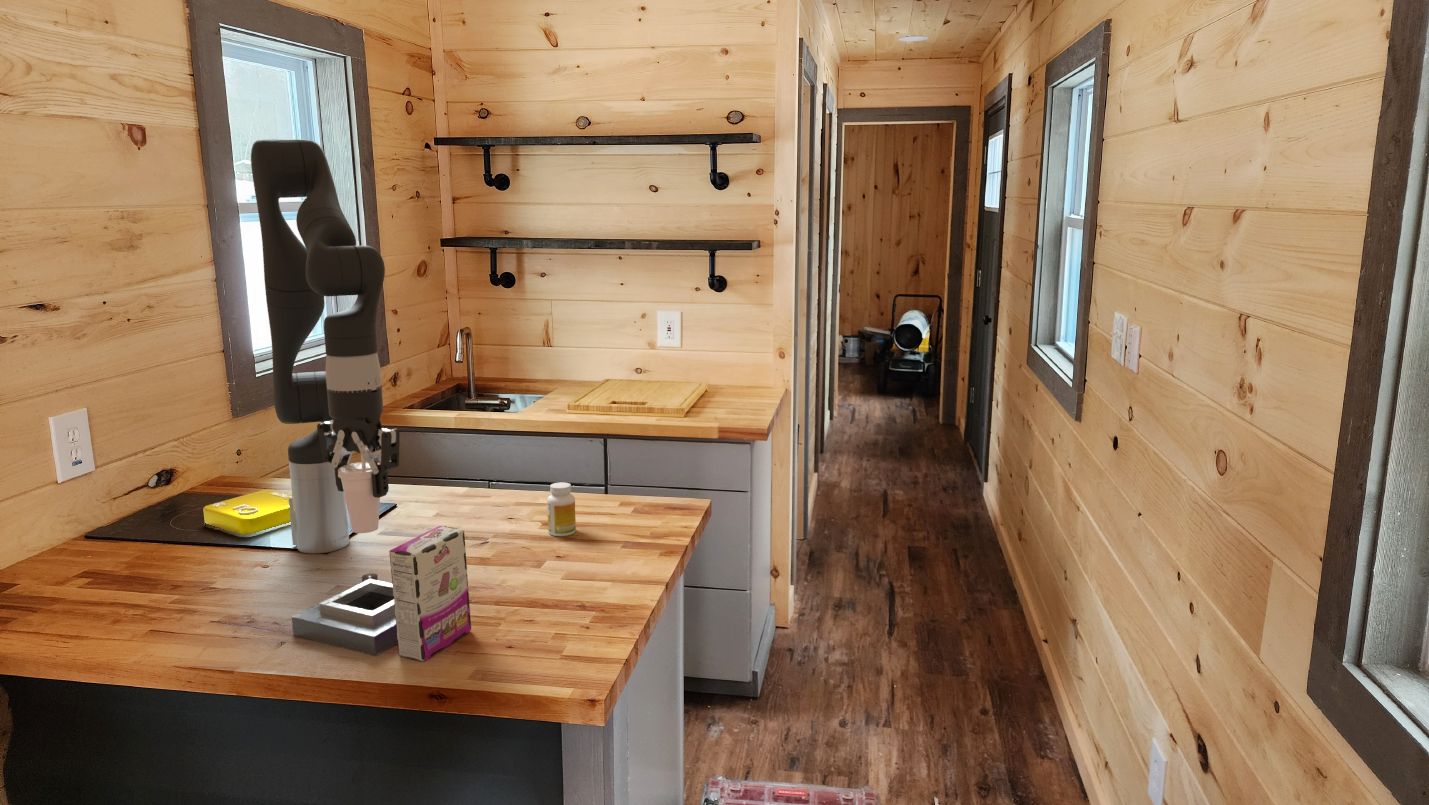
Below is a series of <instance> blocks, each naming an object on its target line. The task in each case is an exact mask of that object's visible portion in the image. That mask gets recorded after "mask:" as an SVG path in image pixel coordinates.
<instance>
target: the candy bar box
mask: <svg viewBox="0 0 1429 805" xmlns="http://www.w3.org/2000/svg"><path fill="white" fill-rule="evenodd" d="M388 552H389V562H390V570H391V571H390V572H391V583H392V586H393V596H394V606H395V618H396V629H397V640H398V643H397V648H398V649H397V650H398V656H399V657H400V658H401V657H402V658H404V657H406V659H409V660H415V661H419V662H422V663H423V662H426V661H428V660H430V659H431V658H432V657H434V656H436V655H437V654H438V653H440V652H441V651H442V650H444V649H445V648H447V647H449V646H450V645H451V644H453V643H454V642H456V641H457V640H459V639H461V637H463V636H465V635H466V634H468V633H469V632H470V631H472V624H471V623H472V621H471V608H470V595H469V593H470V592H469V581H468V565H467V551H466V539H465V529H463V528H457V527H456V528H455V527H451V526H446V525H438V526H436V527H435V528H432V529H431V530H428V531H426V532H424V533H422V534H420V535H418V536H416V537H414V538H412V539H410V540H408V541H406V542H404V543H402V544H400V545H398V546H396V547H394V548H392V549H390V550H389V551H388Z"/></svg>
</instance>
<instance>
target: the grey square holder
mask: <svg viewBox="0 0 1429 805" xmlns="http://www.w3.org/2000/svg"><path fill="white" fill-rule="evenodd" d="M378 577H379V576H378V573H373V572H372V573H371V572H370V573H366V574H363V575H362V576H361V582H360V583H358V584H356V585H354V586H352V587H349V588H347V589H345V590H343V591H341V592H339V593H337V594H335V595H333V596H332V597H329V598H327V599H325V600H323V601H321V602H319V603H317V604H314V605H313V606H310V607H308V608H307V609H305V610H303V611H300V612H298V613H297V614H294V615H292V616H291V621H292V622H291V624H292V634H293V636H295V637H299V638H303V639H307V640H311V641H315V642H318V643H319V642H320V643H323V644H327V645H329V646H330V645H331V646H334V647H339V648H342V647H343V649H346V650H350V651H354V652H359V653H362V652H363V654H367V655H371V656H374V655H375V656H374V657H376V656H378V655H379V653H380V654H382V653H383V652H385V651H386V650H388V649H390V648H392V647H393V646H395V645H398V640H397V629H396V618H395V606H394V596H393V586H392V582H389V581H383V580H379V578H378ZM391 646H392V647H391ZM377 654H378V655H377Z"/></svg>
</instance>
